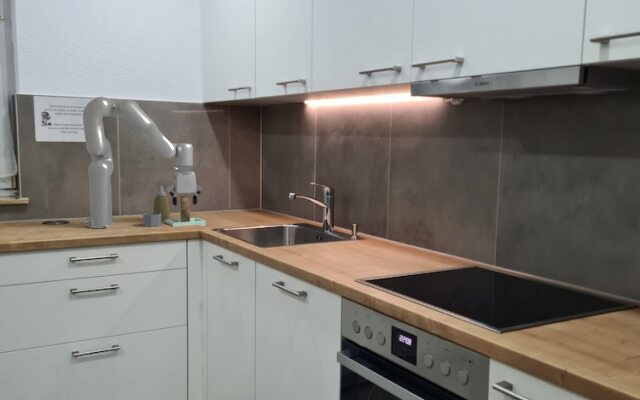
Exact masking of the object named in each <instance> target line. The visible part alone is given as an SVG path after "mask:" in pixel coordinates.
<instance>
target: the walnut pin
mask: <svg viewBox="0 0 640 400" xmlns="http://www.w3.org/2000/svg"><path fill="white" fill-rule="evenodd" d="M190 218H191V196H189V195H182V196H180V219H181V222H190Z"/></svg>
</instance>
